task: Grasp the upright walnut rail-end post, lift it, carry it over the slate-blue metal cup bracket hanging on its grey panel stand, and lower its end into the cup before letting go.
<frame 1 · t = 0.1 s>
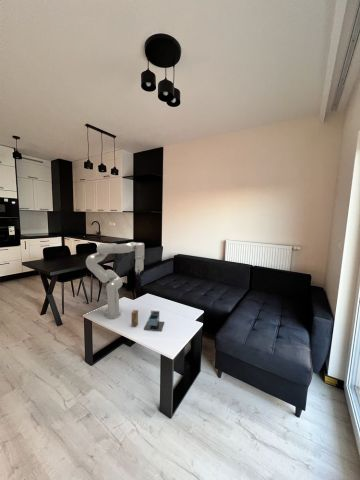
hand: (139, 277, 166), 36 cm above the table, fingers open, 9 cm apart
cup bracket: (153, 327, 155), on the table
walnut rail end: (134, 325, 158), on the table
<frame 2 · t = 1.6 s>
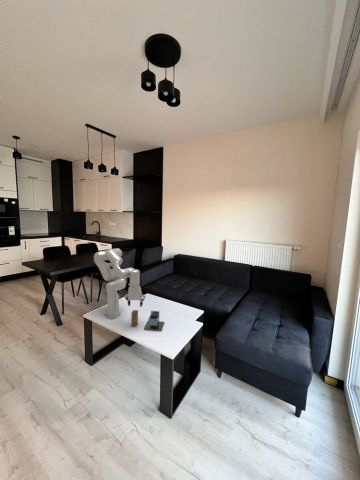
hand: (135, 305, 156), 17 cm above the table, fingers open, 9 cm apart
nothing on the table moved.
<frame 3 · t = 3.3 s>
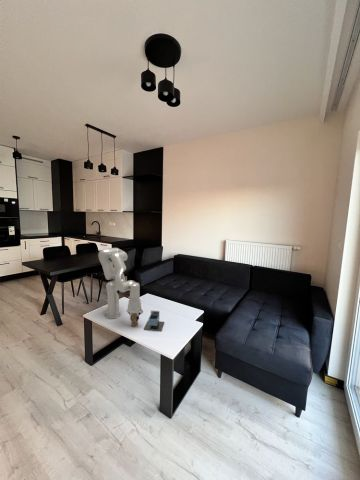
hand: (134, 319, 157), 5 cm above the table, fingers closed on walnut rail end, 4 cm apart
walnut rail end: (134, 325, 158), on the table, touching gripper
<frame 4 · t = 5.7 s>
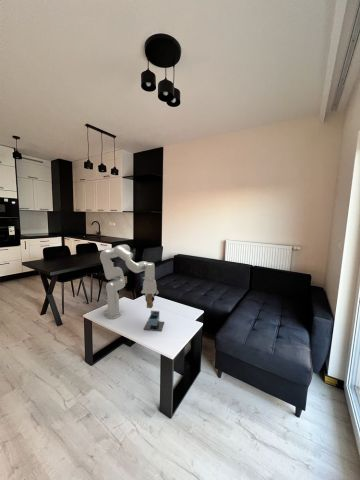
hand: (149, 301, 153), 22 cm above the table, fingers closed on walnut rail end, 4 cm apart
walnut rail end: (149, 306, 153), point 17 cm above the table, touching gripper
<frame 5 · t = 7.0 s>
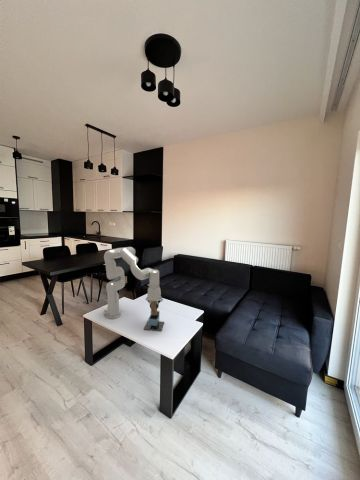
hand: (154, 308, 153), 17 cm above the table, fingers closed on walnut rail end, 4 cm apart
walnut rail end: (154, 313, 154), point 12 cm above the table, touching gripper
when the fingers open (11 cm above the table, at t = 8.3 s): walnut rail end stays where it is, resting on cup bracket.
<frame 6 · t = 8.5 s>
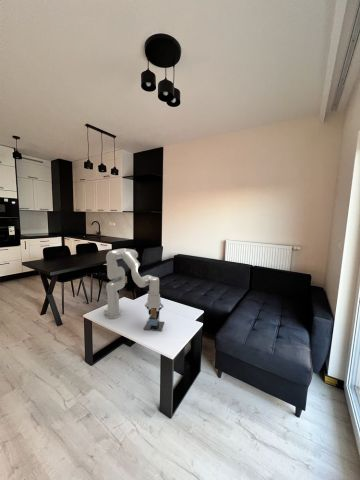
hand: (153, 314, 154), 11 cm above the table, fingers open, 5 cm apart
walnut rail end: (153, 321, 155), point 5 cm above the table, touching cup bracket
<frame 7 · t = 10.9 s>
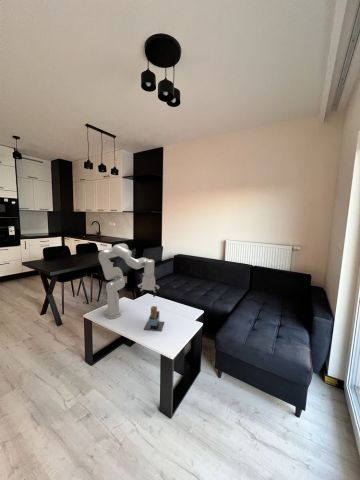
hand: (148, 295, 155), 25 cm above the table, fingers open, 9 cm apart
nothing on the table moved.
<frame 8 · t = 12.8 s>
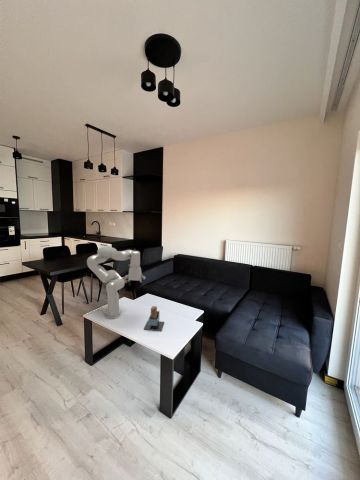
hand: (135, 286, 161), 30 cm above the table, fingers open, 9 cm apart
nothing on the table moved.
at the end: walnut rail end 0.1 cm off-centre on the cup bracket, point 5.0 cm above the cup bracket's base; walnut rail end tilted 0°; the gripper is holding nothing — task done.
